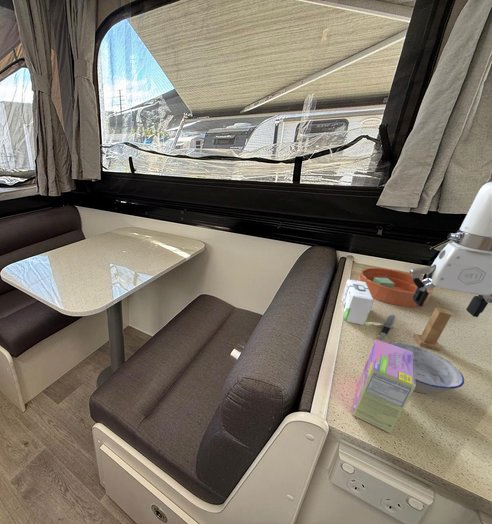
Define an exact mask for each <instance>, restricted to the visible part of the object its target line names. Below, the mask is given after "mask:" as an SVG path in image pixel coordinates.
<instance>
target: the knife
mask: <svg viewBox="0 0 492 524" xmlns="http://www.w3.org/2000/svg"><path fill="white" fill-rule="evenodd" d="M394 321H395V314H390V315H388V316H387V317H386V320H385V322H384V324H377V325H376V328H379V327H380V328H382V329H381V331H380V335H379V334H378V335H377V338H379V339H382V340H385V339H386V338H387V336H388V334H389V332H390V331H391V330H392V328H393V327H392V326H393V323H394Z"/></svg>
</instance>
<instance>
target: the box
mask: <svg viewBox="0 0 492 524" xmlns="http://www.w3.org/2000/svg"><path fill="white" fill-rule="evenodd" d="M388 343H389V342H385V341H382V340H378V339H375V340H374V342H373V345H372V348H371V349H370V352H369V355H368V357H367V360H366V362H365V365H364V368H363V370H362V373H361V374H360V377H359V380H358V383H357V387H356V393H355V397H354V402H353V407H352V412H351V414H352V416H354V417H355V418H358V419H359V420H361V421H363V422H365V423H367V424H370V425H371V426H373V427H376V428H377V429H379V430H382V431H384V432H386V433H388V434H391V432H392V431H393V429H394V428H395V426H396V423H397V421H398V419H399V418H400V416H401V414H402V412H403V410H404V409H405V407H406V406H407V403H408V401H409V399H410V398H411V396H412V394H413V393H414V391H413V390H414V389H415V387H416V384H415V371H414V356H413V352H412V351H409V350H406V349H403V348H400V347H397V346H394V345H391V344H388Z"/></svg>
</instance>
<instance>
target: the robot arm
mask: <svg viewBox="0 0 492 524" xmlns="http://www.w3.org/2000/svg"><path fill="white" fill-rule="evenodd" d="M446 236H447V237H446V238H447V240H451V241H452V242H448V243H447V244H446V245H445V247H443V248H442V249H441V250H440V252H439V253H438V255H437V257H436V258H435V259H434V261H433V262H432V264H431V265H428V266H422V267H417V268H411V269H410V270H409V274H411V279H412V281H413V282H414V283H415V284H416V286H417V289H416V291H415V293H414V295H413V300H414V302H415V303H416V304H417V306H421V307H424V306H423V304H424V302H425V300H426V298H427V296H428V294H429V293H428V292H427V290H429V289H432V288H433V289H435V288H439V289H440V290H441V289H442V290H448V291H452V292H458V293H465V294H470V295H471V294H472V295H474V296H473V297H472V299H471V301H470V302H469V304H468V306H467V307H466V309H465V310H466V311H467V312H468V313H469V314H470V315H471V316H472V317H474V318H478V317H479V316H480V315H481V314H482V313H483V312H484V311H485V309H486V307H487V305H488V304H491V303H492V181H489V182H486V183H485V184H483V185H482V186H481V187H480V188H479V190H478V192H477V194H476V195H475V198H474V200H473V202H472V204H471V206H470V208H469V210H468V212H467V214H466V215H465V217H464V219H463V221H462V223H461V226H460V227H459V229H457V230H456V232H454V233H453V232H449V233H448V234H447V235H446ZM423 275H426V278H424V279H423V280H422V281H421V280H420V277H421V276H423Z"/></svg>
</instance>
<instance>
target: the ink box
mask: <svg viewBox="0 0 492 524" xmlns="http://www.w3.org/2000/svg"><path fill="white" fill-rule="evenodd" d="M341 299H342V301H343V305H344V313H343V317H344V322H348V323H352V324H356V325H360V326H365V325H366V323H367V320H368V319H369V315H370V312H371V309H372V307H373V304H374V302H375V301H374V298H372V295H371V293H370V291H369V289H368V286H367V284H366V282H362V281H358V280H355V279H349V278H348V279H346V283H345V286H344V290H343V292H342V296H341Z"/></svg>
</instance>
